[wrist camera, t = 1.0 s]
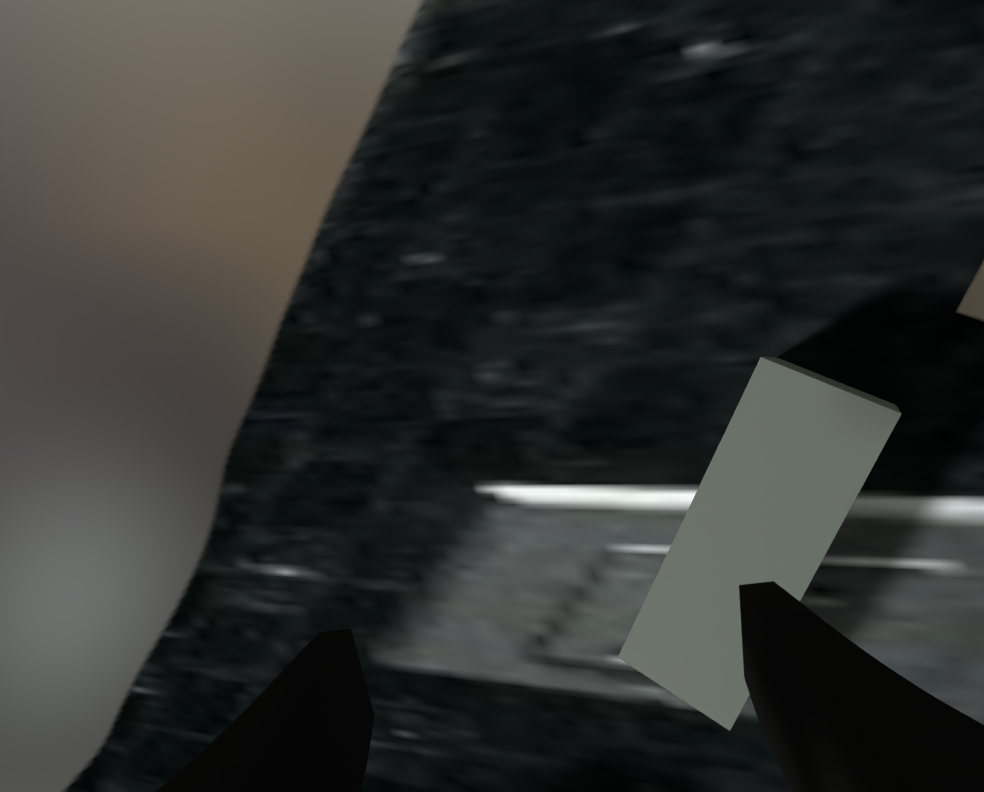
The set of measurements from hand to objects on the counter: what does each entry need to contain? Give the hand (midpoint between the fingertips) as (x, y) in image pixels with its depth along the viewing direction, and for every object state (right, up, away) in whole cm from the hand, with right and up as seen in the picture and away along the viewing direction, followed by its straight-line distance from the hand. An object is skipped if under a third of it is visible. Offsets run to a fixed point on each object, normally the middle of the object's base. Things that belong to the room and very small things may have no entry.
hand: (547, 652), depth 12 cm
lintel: (+8, +1, +10) cm, 13 cm away
